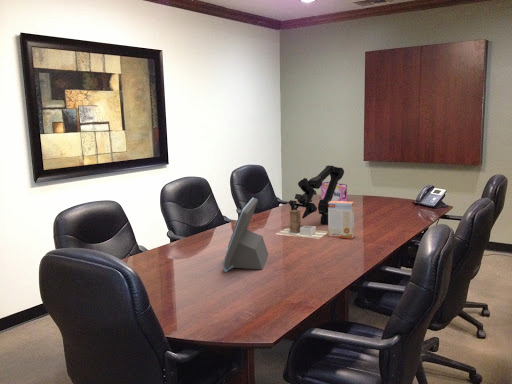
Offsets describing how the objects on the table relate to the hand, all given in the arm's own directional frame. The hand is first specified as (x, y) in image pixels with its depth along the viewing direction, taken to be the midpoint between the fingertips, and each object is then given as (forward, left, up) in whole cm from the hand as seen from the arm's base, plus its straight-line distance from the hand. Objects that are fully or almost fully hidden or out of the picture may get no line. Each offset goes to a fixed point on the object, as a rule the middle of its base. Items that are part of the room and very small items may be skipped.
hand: (296, 217), depth 291 cm
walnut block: (+1, +1, -9) cm, 9 cm away
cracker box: (-26, +10, -10) cm, 30 cm away
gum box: (-25, -109, -10) cm, 112 cm away
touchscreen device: (+22, +58, -10) cm, 63 cm away
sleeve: (-7, +5, -9) cm, 12 cm away
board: (-3, +3, -10) cm, 11 cm away
